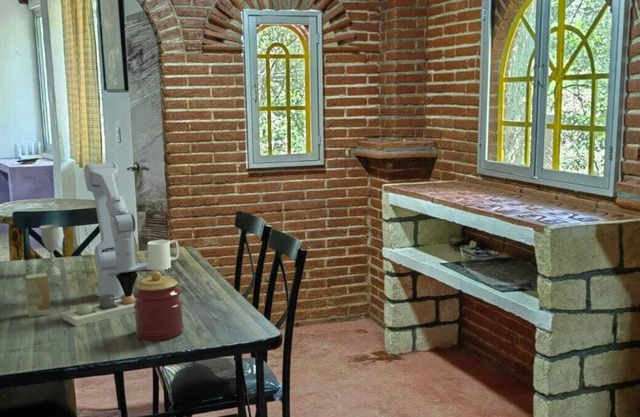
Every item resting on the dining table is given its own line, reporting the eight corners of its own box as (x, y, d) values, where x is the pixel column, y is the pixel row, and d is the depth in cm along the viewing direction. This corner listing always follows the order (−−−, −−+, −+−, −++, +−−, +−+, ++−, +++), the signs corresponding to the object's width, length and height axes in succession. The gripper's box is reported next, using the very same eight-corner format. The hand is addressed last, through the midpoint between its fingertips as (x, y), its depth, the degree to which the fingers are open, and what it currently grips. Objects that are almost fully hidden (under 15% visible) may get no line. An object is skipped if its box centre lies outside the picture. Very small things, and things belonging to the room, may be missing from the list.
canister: (140, 344, 188) (135, 279, 185) (132, 330, 200) (128, 269, 197) (188, 336, 193) (184, 273, 191) (178, 323, 205) (174, 263, 202)
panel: (62, 318, 212) (61, 312, 211) (135, 301, 228) (135, 295, 227) (76, 326, 204) (75, 319, 204) (151, 308, 220) (150, 301, 220)
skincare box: (29, 317, 214) (25, 278, 212) (27, 313, 218) (24, 275, 216) (51, 314, 217) (48, 275, 215) (49, 310, 221) (46, 272, 219)
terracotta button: (118, 305, 221) (118, 295, 220) (131, 302, 224) (131, 292, 223) (125, 308, 217) (124, 298, 217) (138, 305, 220) (137, 295, 220)
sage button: (75, 315, 211) (74, 305, 211) (89, 312, 214) (88, 302, 214) (81, 319, 208) (80, 308, 208) (95, 315, 211) (94, 305, 211)
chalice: (67, 272, 268) (63, 225, 265) (52, 276, 262) (47, 228, 259) (55, 270, 272) (50, 224, 269) (39, 274, 266) (35, 227, 263)
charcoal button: (97, 306, 216) (96, 296, 215) (110, 303, 219) (110, 293, 218) (103, 309, 213) (102, 299, 212) (117, 306, 215) (116, 296, 215)
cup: (183, 267, 271) (181, 241, 270) (151, 271, 266) (150, 245, 264) (177, 263, 279) (176, 238, 277) (146, 267, 273) (145, 241, 272)
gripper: (108, 259, 210) (112, 303, 212) (152, 250, 220) (155, 293, 222) (98, 255, 215) (101, 298, 217) (141, 247, 225) (144, 289, 227)
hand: (128, 295), depth 220 cm, fingers closed, pressing on terracotta button
